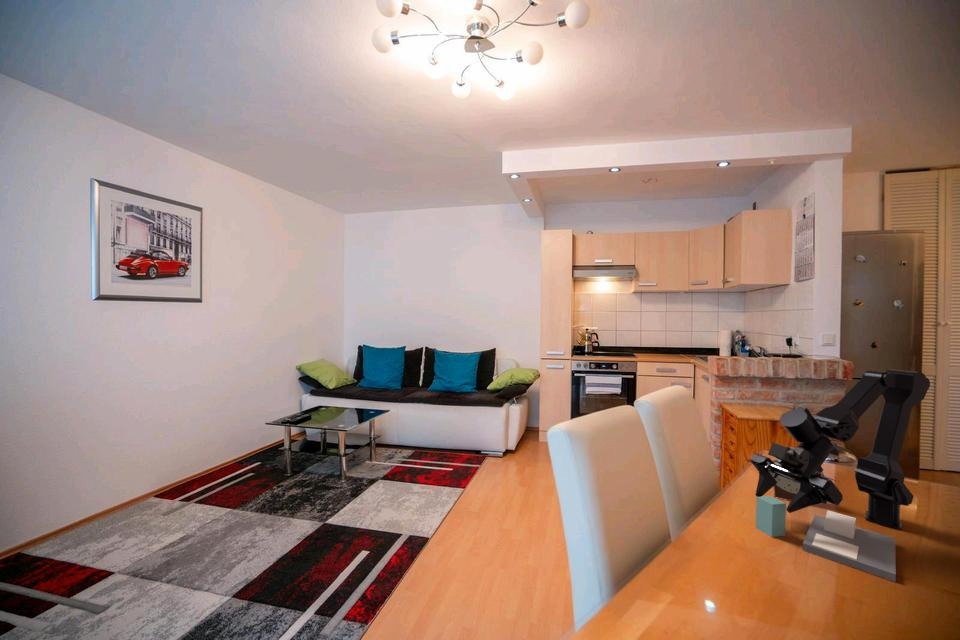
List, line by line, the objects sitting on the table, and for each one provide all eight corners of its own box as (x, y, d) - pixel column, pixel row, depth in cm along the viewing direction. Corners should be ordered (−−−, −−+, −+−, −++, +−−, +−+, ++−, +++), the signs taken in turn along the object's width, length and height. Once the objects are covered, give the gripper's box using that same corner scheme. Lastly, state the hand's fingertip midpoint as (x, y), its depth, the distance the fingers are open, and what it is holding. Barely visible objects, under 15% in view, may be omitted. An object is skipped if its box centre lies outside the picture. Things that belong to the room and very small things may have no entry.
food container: (819, 500, 113) (820, 465, 113) (824, 508, 108) (825, 471, 108) (766, 488, 119) (767, 455, 119) (768, 496, 114) (769, 461, 114)
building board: (814, 520, 100) (815, 504, 100) (894, 544, 90) (895, 527, 90) (802, 549, 86) (803, 531, 86) (895, 582, 76) (896, 561, 76)
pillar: (768, 526, 96) (769, 495, 96) (785, 535, 92) (786, 503, 92) (755, 528, 95) (756, 497, 95) (771, 537, 91) (772, 504, 91)
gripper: (756, 422, 104) (720, 466, 102) (834, 444, 86) (793, 498, 83) (778, 451, 106) (744, 495, 103) (860, 478, 88) (820, 532, 85)
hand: (771, 503), depth 94 cm, fingers open, 7 cm apart
